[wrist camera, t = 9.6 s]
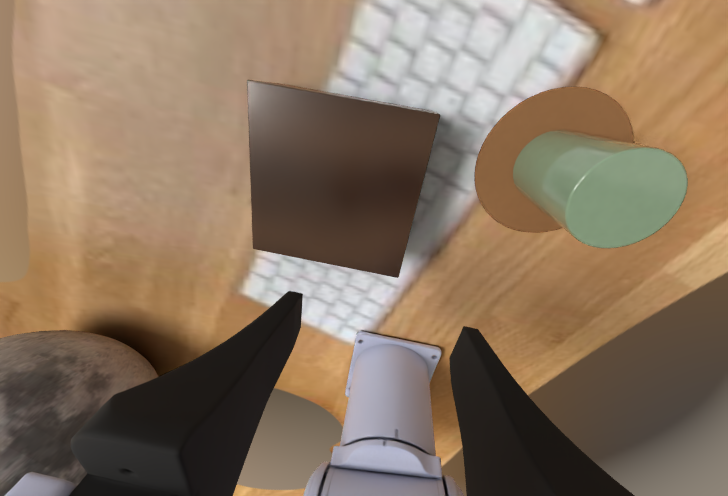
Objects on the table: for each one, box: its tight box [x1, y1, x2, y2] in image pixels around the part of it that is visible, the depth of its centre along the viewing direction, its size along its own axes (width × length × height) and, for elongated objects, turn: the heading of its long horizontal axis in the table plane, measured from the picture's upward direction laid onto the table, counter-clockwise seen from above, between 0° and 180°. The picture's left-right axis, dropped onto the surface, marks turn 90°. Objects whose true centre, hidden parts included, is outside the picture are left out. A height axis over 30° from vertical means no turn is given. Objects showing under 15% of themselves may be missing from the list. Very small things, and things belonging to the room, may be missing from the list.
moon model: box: [0, 330, 159, 496], centre depth 25 cm, size 20×20×20 cm
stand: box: [247, 80, 440, 278], centre depth 19 cm, size 10×10×4 cm
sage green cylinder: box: [513, 130, 688, 248], centre depth 15 cm, size 4×4×7 cm
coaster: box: [475, 87, 633, 232], centre depth 18 cm, size 9×9×1 cm
